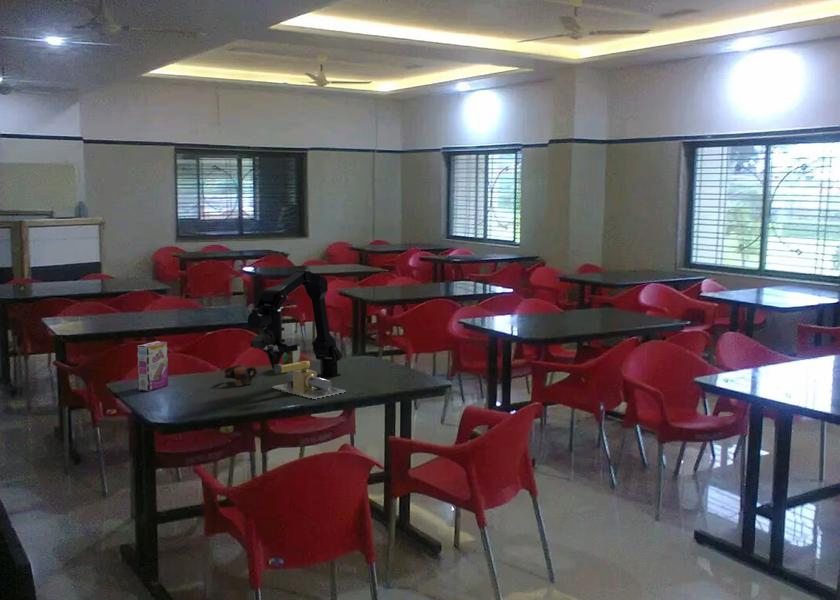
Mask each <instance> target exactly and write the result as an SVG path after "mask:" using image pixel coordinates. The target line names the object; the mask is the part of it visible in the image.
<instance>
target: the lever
mask: <svg viewBox="0 0 840 600" xmlns="http://www.w3.org/2000/svg"><path fill="white" fill-rule="evenodd" d="M310 364H311V363H310V361H309V360H300V362H297V363H292V364H286V365H284V364H282V363H279V364H275V365H274V369H273V370H274V373H275V374H282V373H287V372H289V371H292V372H293V371H294V370H295V371H296V370H301V369H305V368H308V369H309V368H310V366H311V365H310Z"/></svg>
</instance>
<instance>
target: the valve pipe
mask: <svg viewBox="0 0 840 600" xmlns="http://www.w3.org/2000/svg"><path fill="white" fill-rule="evenodd" d="M285 373H286V374H285V380H286V381H288V382H286V383H282V384H276V385H272V388H274V389H273V390H276V389H277V390H276V391H280V390H281V391H280V392H283V393H287V392H288V394H291V393H292V395H295V394H296V396H298V395H299V397H302V396H303V398H306V397H307V398H306V399H310V398H312V399H311V400H313V399H316V400H318V399H317V398H320V399H323V398H322V397H324V398H327V397H326V396H329V397H331V395H333V396H336V395H335V394H337V395H340V394H339V393H342V394H345V393H344V392H346V389H341V388H338V387H337V388H336V387H334V386H333V382H332V381H331V380H330V379H329V380H328V379H325V378H321V377H318V373H317V370H313V369H309V368H305V369H299V370H295V371H288V372H285Z"/></svg>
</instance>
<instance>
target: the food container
mask: <svg viewBox="0 0 840 600" xmlns="http://www.w3.org/2000/svg"><path fill="white" fill-rule="evenodd" d="M294 342H295V343H297V345H298V350H297V351H292V352H287V353H284V354H283V356H282V360H283V365H286V364H292V363H297V362H300V361H301V346H302V345H301V341H294ZM294 371H296V370H294Z"/></svg>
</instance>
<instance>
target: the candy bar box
mask: <svg viewBox="0 0 840 600" xmlns="http://www.w3.org/2000/svg"><path fill="white" fill-rule="evenodd" d="M136 348H137V350H136V351H137V379H138V380H137V381H138V391H142V392H148V391H149V392H151V390H152V391H155V390H158V389H161V388H164V387H166V385H167V386H168V385H169V369H168V368H169V367H168V365H169V363H168V362H169V361H168V360H169V359H168V342H167V341H152V342H149V343H144V344H140V345H137V347H136ZM163 386H164V387H163ZM160 387H161V388H160ZM157 388H158V389H157ZM154 389H155V390H154Z"/></svg>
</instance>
